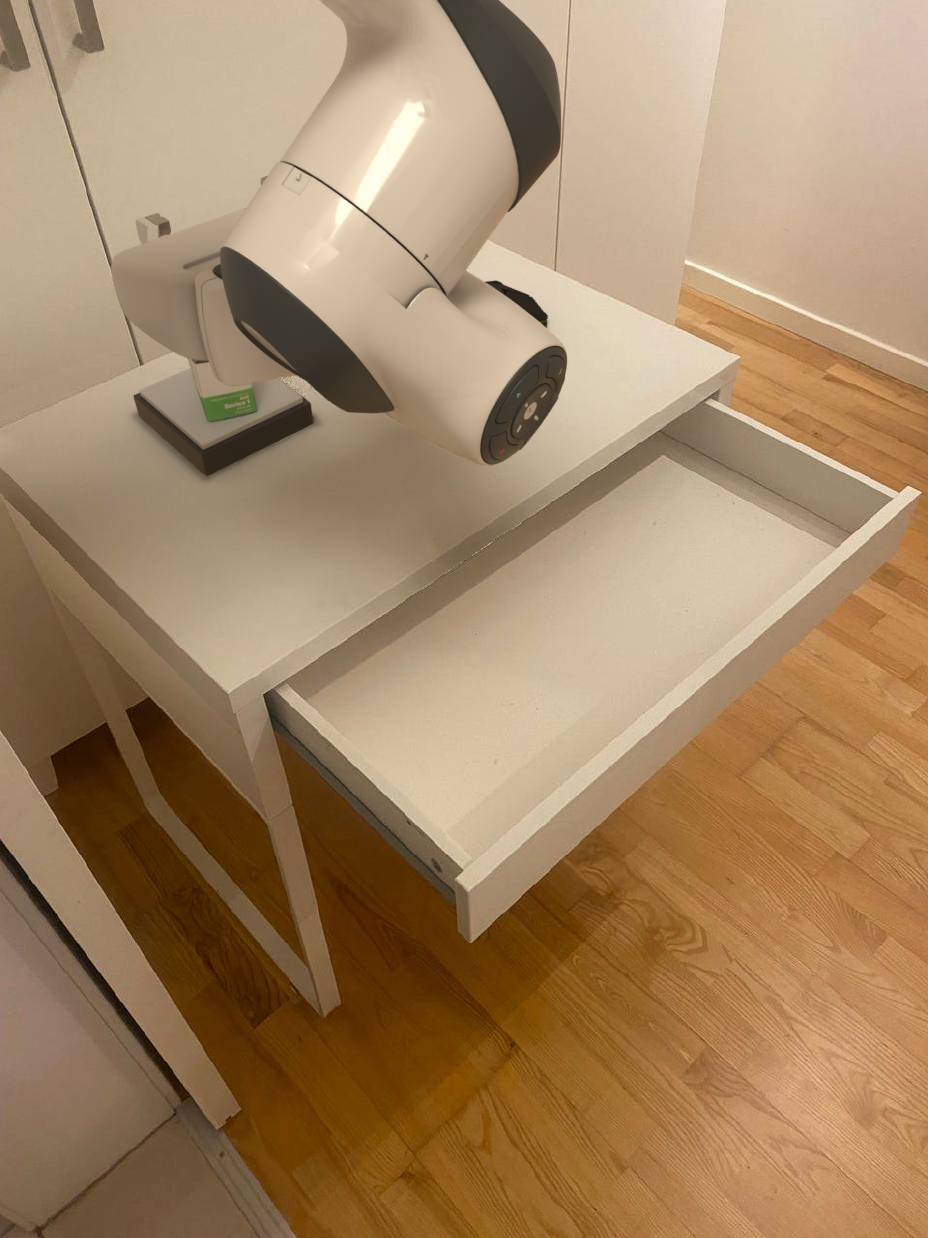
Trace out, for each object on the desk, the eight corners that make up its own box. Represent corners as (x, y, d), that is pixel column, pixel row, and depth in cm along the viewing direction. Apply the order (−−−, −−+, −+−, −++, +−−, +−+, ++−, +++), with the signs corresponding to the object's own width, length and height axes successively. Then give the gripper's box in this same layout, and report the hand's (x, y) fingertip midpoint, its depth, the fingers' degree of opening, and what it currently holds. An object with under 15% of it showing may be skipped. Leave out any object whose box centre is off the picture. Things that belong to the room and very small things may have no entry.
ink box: (259, 413, 88) (239, 295, 80) (205, 424, 87) (179, 306, 78) (240, 362, 94) (219, 247, 85) (188, 372, 92) (162, 256, 84)
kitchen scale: (206, 476, 87) (200, 449, 85) (138, 415, 93) (131, 389, 90) (313, 423, 92) (310, 397, 90) (243, 369, 98) (238, 343, 96)
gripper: (470, 185, 59) (332, 115, 66) (181, 297, 50) (54, 202, 56) (467, 280, 64) (339, 206, 70) (203, 399, 54) (83, 301, 61)
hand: (210, 205), depth 63 cm, fingers open, 8 cm apart
